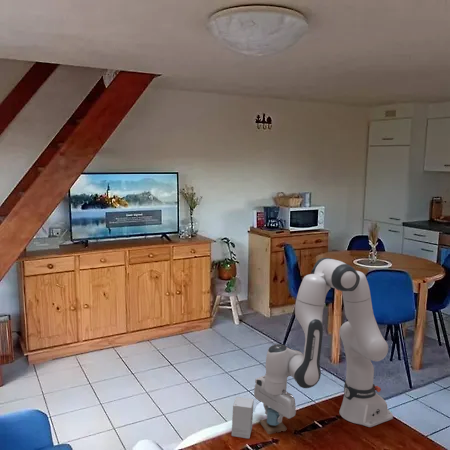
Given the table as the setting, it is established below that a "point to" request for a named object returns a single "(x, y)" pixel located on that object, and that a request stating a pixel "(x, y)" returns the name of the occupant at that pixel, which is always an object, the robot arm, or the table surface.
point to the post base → (272, 427)
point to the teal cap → (272, 416)
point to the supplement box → (242, 417)
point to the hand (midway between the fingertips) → (273, 418)
